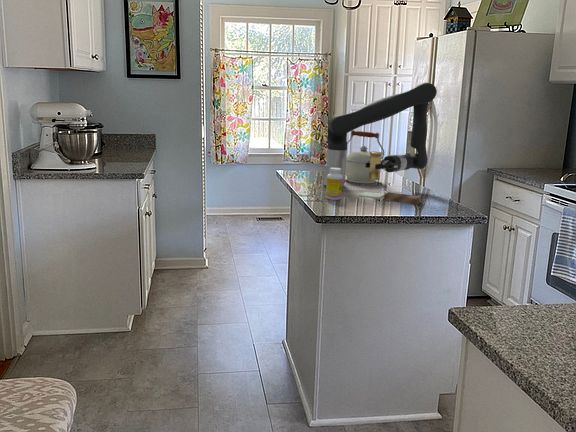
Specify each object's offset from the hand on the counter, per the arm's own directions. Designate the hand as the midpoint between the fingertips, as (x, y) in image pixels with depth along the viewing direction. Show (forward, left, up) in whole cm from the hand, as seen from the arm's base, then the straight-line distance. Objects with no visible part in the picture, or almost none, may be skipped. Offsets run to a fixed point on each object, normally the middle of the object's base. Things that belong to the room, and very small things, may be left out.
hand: (371, 166), depth 242 cm
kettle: (-16, +37, -14) cm, 43 cm away
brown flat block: (+15, -1, -13) cm, 20 cm away
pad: (+1, +2, -13) cm, 14 cm away
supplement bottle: (-11, -15, -14) cm, 23 cm away
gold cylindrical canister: (+1, +3, -6) cm, 7 cm away
